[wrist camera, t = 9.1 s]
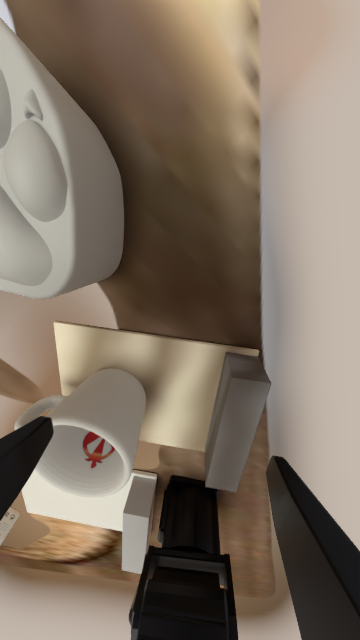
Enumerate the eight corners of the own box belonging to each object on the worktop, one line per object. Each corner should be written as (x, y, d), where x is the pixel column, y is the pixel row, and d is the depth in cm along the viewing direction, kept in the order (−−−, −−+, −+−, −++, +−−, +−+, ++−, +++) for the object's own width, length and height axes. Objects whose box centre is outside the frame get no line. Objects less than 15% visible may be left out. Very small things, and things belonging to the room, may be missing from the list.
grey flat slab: (157, 474, 27) (149, 515, 23) (150, 533, 32) (143, 576, 28) (13, 447, 28) (-19, 482, 24) (29, 509, 33) (4, 547, 29)
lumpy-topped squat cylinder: (19, 274, 19) (-113, 294, 11) (-19, 92, 15) (-286, -94, 7) (126, 283, 19) (68, 312, 10) (121, 95, 14) (11, -109, 6)
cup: (64, 410, 24) (1, 484, 17) (53, 350, 21) (-27, 408, 14) (154, 422, 23) (131, 506, 16) (155, 362, 20) (129, 429, 13)
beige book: (258, 349, 19) (273, 378, 15) (229, 453, 24) (234, 495, 20) (56, 320, 20) (19, 339, 16) (68, 425, 25) (42, 459, 21)
